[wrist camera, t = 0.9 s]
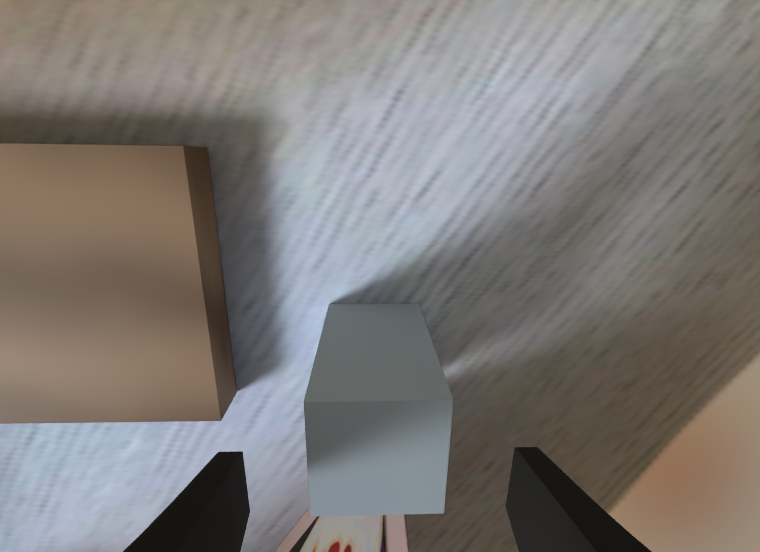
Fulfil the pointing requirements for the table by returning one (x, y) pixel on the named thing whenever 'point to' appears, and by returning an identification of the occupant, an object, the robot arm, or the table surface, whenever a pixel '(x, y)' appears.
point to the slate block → (377, 414)
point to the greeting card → (347, 534)
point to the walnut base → (111, 286)
